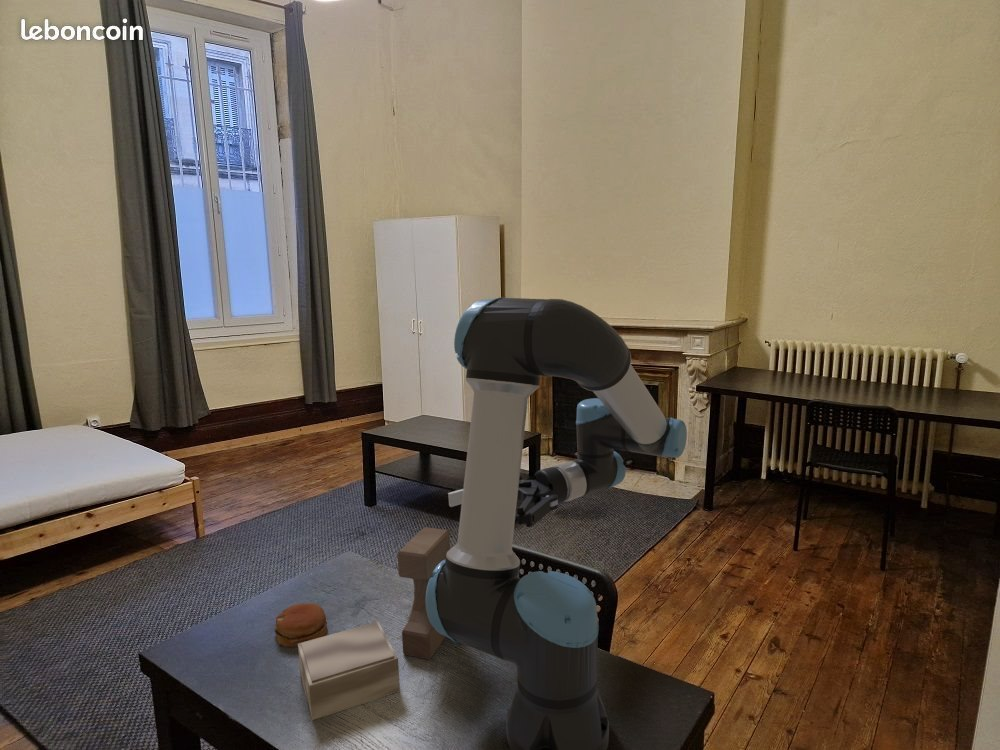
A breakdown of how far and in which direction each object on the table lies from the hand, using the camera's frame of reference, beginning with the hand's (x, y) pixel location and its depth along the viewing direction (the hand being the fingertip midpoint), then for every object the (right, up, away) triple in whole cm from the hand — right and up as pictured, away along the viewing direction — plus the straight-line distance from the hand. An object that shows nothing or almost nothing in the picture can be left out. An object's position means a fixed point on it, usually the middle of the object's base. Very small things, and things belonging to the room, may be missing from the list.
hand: (465, 512), depth 114 cm
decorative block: (-7, -24, +1) cm, 25 cm away
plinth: (-19, -26, -11) cm, 34 cm away
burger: (-32, -24, +4) cm, 40 cm away
